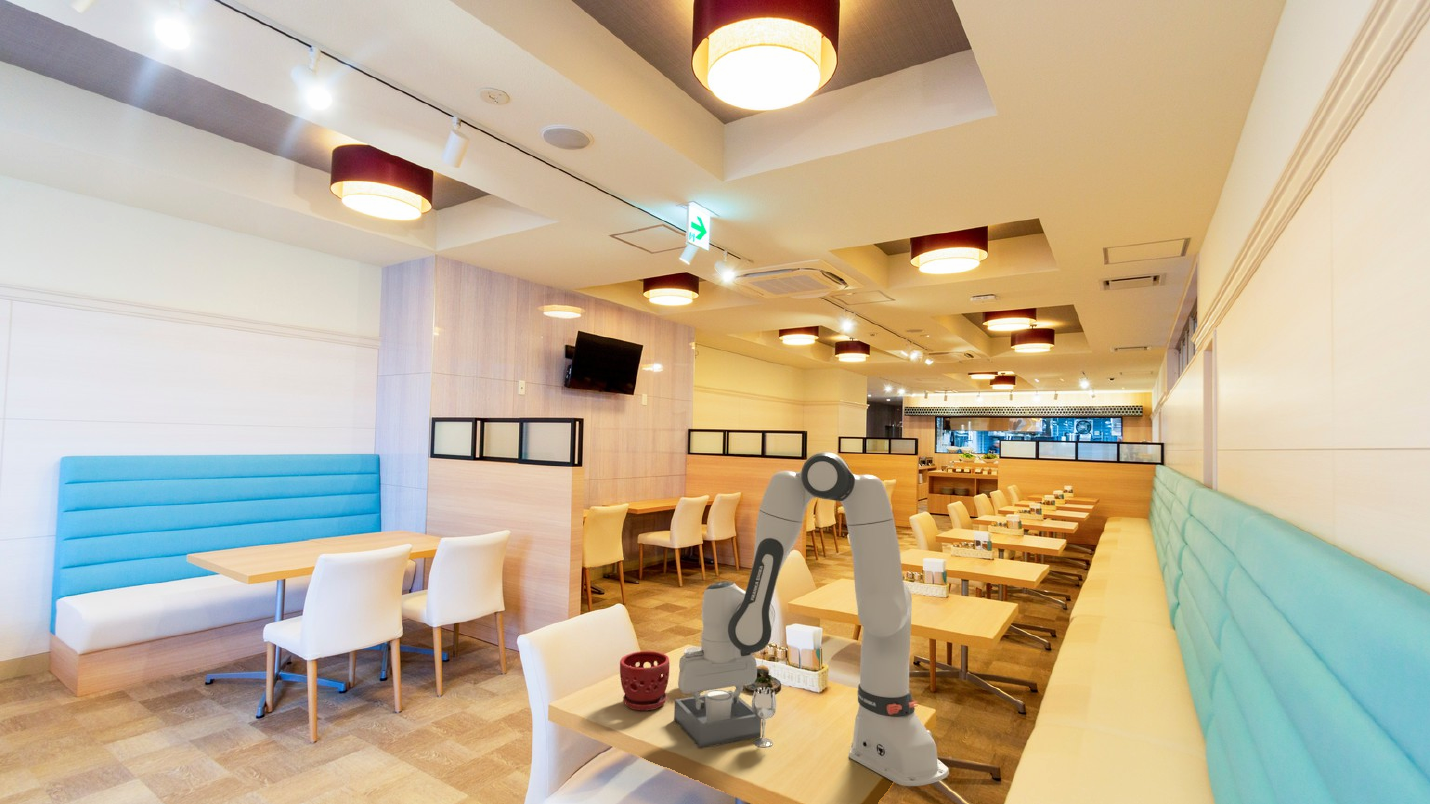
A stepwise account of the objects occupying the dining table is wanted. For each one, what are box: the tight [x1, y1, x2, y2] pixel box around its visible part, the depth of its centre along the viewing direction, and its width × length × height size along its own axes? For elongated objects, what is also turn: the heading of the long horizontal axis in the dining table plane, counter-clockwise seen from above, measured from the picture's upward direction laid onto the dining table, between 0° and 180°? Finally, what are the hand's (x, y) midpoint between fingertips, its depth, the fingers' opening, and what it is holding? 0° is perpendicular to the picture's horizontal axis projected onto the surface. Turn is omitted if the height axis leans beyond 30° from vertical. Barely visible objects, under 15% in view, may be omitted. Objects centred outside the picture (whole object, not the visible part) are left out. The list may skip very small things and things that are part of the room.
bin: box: [673, 690, 762, 749], centre depth 160 cm, size 16×16×5 cm
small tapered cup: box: [704, 689, 733, 723], centre depth 160 cm, size 7×7×7 cm
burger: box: [743, 659, 782, 692], centre depth 187 cm, size 12×12×8 cm
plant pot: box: [619, 650, 670, 711], centre depth 173 cm, size 13×13×12 cm
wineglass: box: [751, 687, 777, 748], centre depth 153 cm, size 6×6×12 cm
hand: (717, 705), depth 160 cm, fingers open, 8 cm apart
